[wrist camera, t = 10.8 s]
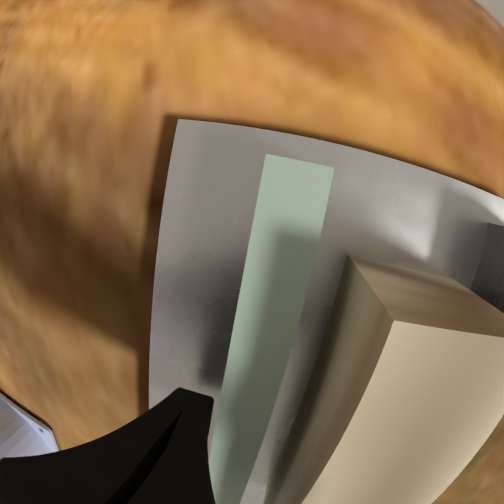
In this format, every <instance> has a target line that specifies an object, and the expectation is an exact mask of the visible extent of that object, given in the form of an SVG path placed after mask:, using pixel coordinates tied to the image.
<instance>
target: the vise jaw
mask: <svg viewBox="0 0 504 504" xmlns="http://www.w3.org/2000/svg"><path fill="white" fill-rule="evenodd" d="M333 172H334V168H333V167H328V166H324V165H319V164H315V163H310V162H305V161H301V160H296V159H291V158H286V157H280V156H275V155H270V154H266V156H265V161H264V166H263V172H262V177H261V182H260V187H259V193H258V198H257V203H256V208H255V214H254V219H253V224H252V229H251V235H250V240H249V245H248V251H247V256H246V261H245V267H244V272H243V277H242V283H241V288H240V293H239V299H238V304H237V310H236V315H235V320H234V326H233V331H232V336H231V342H230V347H229V353H228V358H227V364H226V369H225V375H224V380H223V385H222V391H221V396H220V402H219V407H218V413H217V418H216V424H215V430H214V435H213V441H212V446H211V452H210V457H209V471H210V478H211V484H212V489H213V494H214V499H215V503H216V504H240V501H241V499H242V496H243V494H244V491H245V489H246V486H247V483H248V481H249V478H250V475H251V472H252V470H253V467H254V464H255V461H256V459H257V456H258V453H259V450H260V447H261V444H262V441H263V439H264V436H265V433H266V430H267V427H268V424H269V421H270V418H271V415H272V412H273V408H274V405H275V402H276V399H277V396H278V393H279V389H280V386H281V383H282V380H283V376H284V373H285V370H286V366H287V363H288V359H289V356H290V353H291V349H292V346H293V342H294V338H295V335H296V331H297V328H298V324H299V320H300V316H301V313H302V309H303V305H304V301H305V297H306V293H307V290H308V286H309V282H310V278H311V273H312V269H313V265H314V261H315V257H316V252H317V248H318V244H319V239H320V235H321V230H322V226H323V221H324V217H325V212H326V207H327V202H328V198H329V193H330V188H331V183H332V177H333Z"/></svg>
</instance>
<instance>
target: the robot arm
mask: <svg viewBox="0 0 504 504" xmlns="http://www.w3.org/2000/svg"><path fill="white" fill-rule="evenodd" d="M213 405H214V399H213V398H212V396H208V395H204V394H201V393H197V392H194V391H191V390H187V389H184V388H181V387H179V388H177V389H175V390H174V391H173V392H172V393H171V394H169V395H168V396H167V397H166V398H164V399H163V400H162V401H161V402H159V403H158V404H156V405H155V406H154V407H152V408H151V409H149V410H148V411H147V412H145V413H144V414H142V415H141V416H139V417H138V418H136V419H134V420H133V421H131V422H129V423H128V424H126V425H124V426H122V427H121V428H119V429H117V430H115V431H113V432H111V433H109V434H107V435H105V436H102V437H100V438H98V439H95V440H93V441H90V442H88V443H85V444H82V445H79V446H76V447H73V448H69V449H66V450H61V451H59V449H58V446H57V444H56V441H55V438H54V435H53V432H52V431H51V429H50V428H49V427H47V426H46V425H44V424H43V423H41V422H40V421H38V420H37V419H35V418H34V417H32V416H31V415H30V414H28V413H27V412H25V411H24V410H22V409H21V408H20V407H18V406H17V405H16V404H14V403H13V402H12V401H10V400H9V399H8V398H6V397H5V396H4V395H3V394H1V393H0V504H216V503H215V499H214V494H213V489H212V484H211V478H210V471H209V461H208V435H209V430H210V424H211V418H212V412H213Z"/></svg>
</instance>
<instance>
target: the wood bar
mask: <svg viewBox="0 0 504 504" xmlns="http://www.w3.org/2000/svg"><path fill="white" fill-rule="evenodd" d="M503 415H504V313H502V312H501V311H499V310H498V309H497V308H495V307H494V306H492V305H491V304H490V303H488V302H487V301H485V300H484V299H482V298H481V297H479V296H478V295H476V294H475V293H474V292H472V291H471V290H469V289H468V288H466V287H465V286H463V285H462V284H460V283H459V282H457V281H455V280H454V279H452V278H447V277H443V276H439V275H435V274H431V273H427V272H422V271H418V270H414V269H410V268H405V267H401V266H397V265H392V264H388V263H384V262H379V261H375V260H371V259H366V258H362V257H357V256H353V255H349V254H347V256H346V260H345V264H344V268H343V272H342V276H341V280H340V283H339V287H338V291H337V294H336V298H335V301H334V305H333V308H332V311H331V315H330V318H329V322H328V325H327V328H326V331H325V335H324V338H323V341H322V344H321V347H320V350H319V353H318V356H317V359H316V362H315V365H314V368H313V371H312V374H311V377H310V380H309V382H308V385H307V388H306V391H305V394H304V396H303V399H302V402H301V404H300V407H299V410H298V412H297V415H296V417H295V420H294V423H293V425H292V428H291V430H290V433H289V435H288V437H287V440H286V442H285V445H284V447H283V449H282V452H281V454H280V457H279V459H278V461H277V463H276V466H275V468H274V470H273V472H272V475H271V477H270V479H269V481H268V483H267V486H266V490H265V497H264V503H263V504H431V503H433V502H434V501H435V500H436V499H437V498H438V496H439V495H440V494H441V493H442V492H443V491H444V490H445V489H446V488H447V487H448V486H449V485H450V484H451V483H452V482H453V480H454V479H455V478H456V477H457V476H458V475H459V474H460V472H461V471H462V470H463V469H464V468H465V467H466V465H467V464H468V463H469V462H470V460H471V459H472V458H473V457H474V455H475V454H476V453H477V452H478V450H479V449H480V448H481V446H482V445H483V444H484V442H485V441H486V440H487V438H488V437H489V435H490V434H491V433H492V431H493V430H494V428H495V427H496V425H497V424H498V422H499V421H500V419H501V418H502V416H503Z"/></svg>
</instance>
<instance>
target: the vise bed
mask: <svg viewBox="0 0 504 504" xmlns="http://www.w3.org/2000/svg"><path fill="white" fill-rule="evenodd" d="M266 154H270V155H275V156H280V157H286V158H291V159H296V160H301V161H305V162H310V163H315V164H319V165H324V166H328V167H333V168H334V172H333V177H332V183H331V188H330V193H329V198H328V202H327V207H326V212H325V217H324V221H323V226H322V230H321V235H320V239H319V244H318V248H317V252H316V257H315V261H314V265H313V269H312V273H311V278H310V282H309V286H308V290H307V293H306V297H305V301H304V305H303V309H302V313H301V316H300V320H299V324H298V328H297V331H296V335H295V338H294V342H293V346H292V349H291V353H290V356H289V359H288V363H287V366H286V370H285V373H284V376H283V380H282V383H281V386H280V389H279V393H278V396H277V399H276V402H275V405H274V408H273V412H272V415H271V418H270V421H269V424H268V427H267V430H266V433H265V436H264V439H263V441H262V444H261V447H260V450H259V453H258V456H257V459H256V461H255V464H254V467H253V470H252V472H251V475H250V478H249V481H248V483H247V486H246V489H245V491H244V494H243V496H242V499H241V501H240V504H263V503H264V497H265V490H266V486H267V483H268V481H269V479H270V477H271V475H272V472H273V470H274V468H275V466H276V463H277V461H278V459H279V457H280V454H281V452H282V449H283V447H284V445H285V442H286V440H287V437H288V435H289V433H290V430H291V428H292V425H293V423H294V420H295V417H296V415H297V412H298V410H299V407H300V404H301V402H302V399H303V396H304V394H305V391H306V388H307V385H308V382H309V380H310V377H311V374H312V371H313V368H314V365H315V362H316V359H317V356H318V353H319V350H320V347H321V344H322V341H323V338H324V335H325V331H326V328H327V325H328V322H329V318H330V315H331V311H332V308H333V305H334V301H335V298H336V294H337V291H338V287H339V283H340V280H341V276H342V272H343V268H344V264H345V260H346V256H347V254H349V255H353V256H357V257H362V258H366V259H371V260H375V261H379V262H384V263H388V264H392V265H397V266H401V267H405V268H410V269H414V270H418V271H422V272H427V273H431V274H435V275H439V276H443V277H447V278H452V279H454V280H455V281H457V282H459V283H460V284H462V285H463V286H465V287H466V288H468V289H469V290H471V291H472V292H474V293H475V294H476V295H478V296H479V297H481V298H482V299H484V300H485V301H487V302H488V303H490V304H491V305H492V306H494V307H495V308H497V309H498V310H499V311H501V312H502V313H504V199H502V198H500V197H497V196H495V195H493V194H491V193H488V192H486V191H483V190H481V189H479V188H476V187H474V186H471V185H469V184H466V183H463V182H461V181H458V180H456V179H453V178H450V177H447V176H445V175H442V174H439V173H436V172H433V171H430V170H427V169H424V168H421V167H418V166H415V165H412V164H409V163H406V162H403V161H399V160H396V159H393V158H389V157H386V156H382V155H379V154H375V153H371V152H368V151H364V150H360V149H356V148H352V147H348V146H344V145H340V144H336V143H332V142H327V141H323V140H318V139H313V138H309V137H304V136H299V135H293V134H288V133H283V132H277V131H271V130H265V129H259V128H253V127H246V126H239V125H231V124H224V123H215V122H206V121H196V120H185V119H178V123H177V127H176V132H175V137H174V142H173V148H172V153H171V159H170V164H169V170H168V176H167V182H166V188H165V195H164V201H163V208H162V215H161V223H160V231H159V239H158V247H157V256H156V266H155V277H154V288H153V301H152V315H151V333H150V358H149V409H151V408H152V407H154V406H155V405H156V404H158V403H159V402H161V401H162V400H163V399H164V398H166V397H167V396H168V395H169V394H171V393H172V392H173V391H174V390H175V389H177V388H179V387H181V388H184V389H187V390H191V391H194V392H197V393H201V394H204V395H208V396H212V398H213V399H214V405H213V412H212V418H211V424H210V430H209V435H208V461H209V457H210V452H211V446H212V441H213V435H214V430H215V424H216V418H217V413H218V407H219V402H220V396H221V391H222V385H223V380H224V375H225V369H226V364H227V358H228V353H229V347H230V342H231V336H232V331H233V326H234V320H235V315H236V310H237V304H238V299H239V293H240V288H241V283H242V277H243V272H244V267H245V261H246V256H247V251H248V245H249V240H250V235H251V229H252V224H253V219H254V214H255V208H256V203H257V198H258V193H259V187H260V182H261V177H262V172H263V166H264V161H265V156H266Z"/></svg>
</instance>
